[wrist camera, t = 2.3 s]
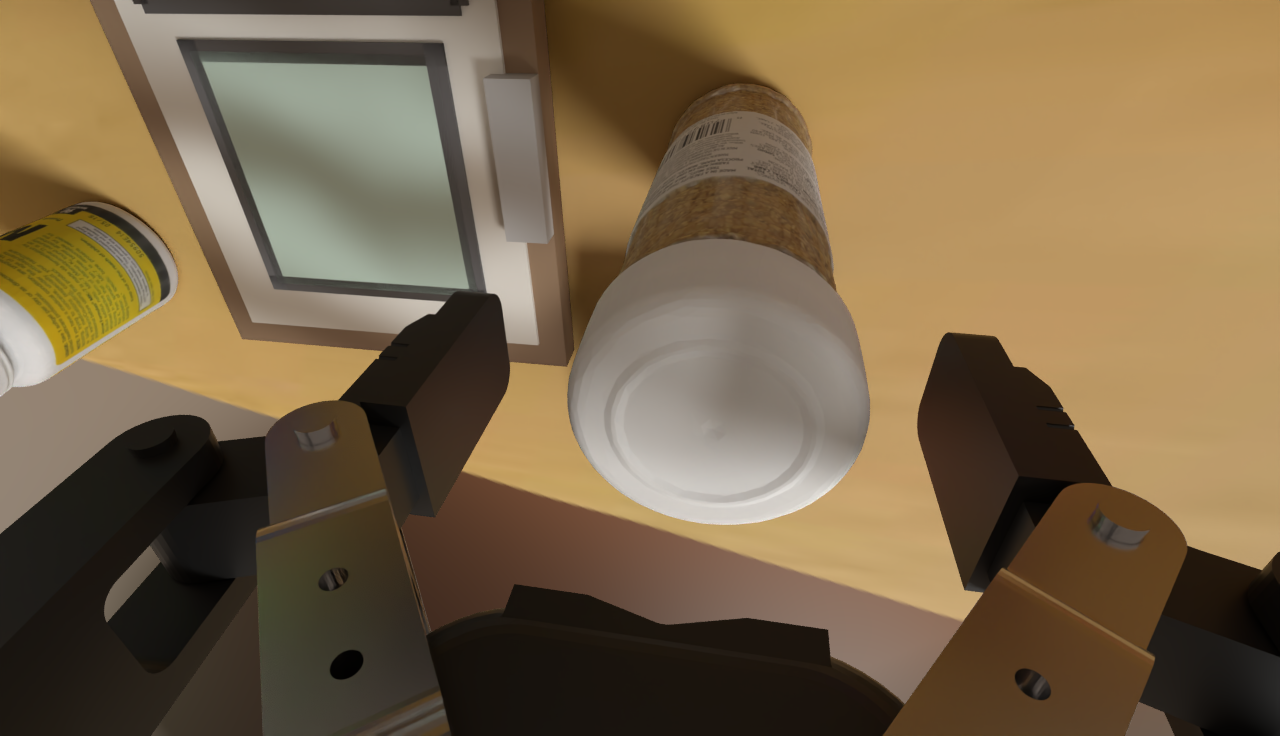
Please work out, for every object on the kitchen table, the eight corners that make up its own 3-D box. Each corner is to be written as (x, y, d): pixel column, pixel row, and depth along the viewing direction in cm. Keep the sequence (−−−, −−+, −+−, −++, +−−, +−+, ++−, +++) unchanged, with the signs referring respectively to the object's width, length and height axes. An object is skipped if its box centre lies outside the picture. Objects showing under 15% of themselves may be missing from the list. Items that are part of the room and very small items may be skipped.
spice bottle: (695, 239, 22) (628, 553, 11) (647, 109, 20) (505, 344, 9) (829, 198, 20) (901, 517, 10) (793, 52, 18) (835, 254, 7)
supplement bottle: (92, 174, 24) (-166, 273, 18) (201, 264, 26) (4, 386, 19) (53, 242, 27) (-187, 353, 20) (156, 321, 28) (-34, 448, 22)
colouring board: (59, -152, 18) (-10, -159, 17) (529, -169, 16) (503, -178, 15) (260, 324, 27) (229, 349, 26) (574, 349, 26) (561, 378, 24)
